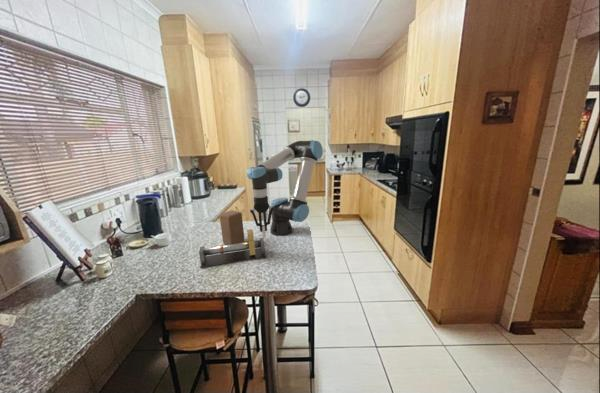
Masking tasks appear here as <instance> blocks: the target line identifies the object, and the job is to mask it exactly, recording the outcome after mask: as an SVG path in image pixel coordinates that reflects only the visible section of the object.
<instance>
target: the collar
mask: <svg viewBox="0 0 600 393" xmlns="http://www.w3.org/2000/svg"><path fill="white" fill-rule="evenodd" d="M246 234H247V240H248V241H247V242H249V249H248V250H249V253H250V255H255V249H256V248H255V245H254V241H255V238H254V230H253V228H251V229H247V230H246Z"/></svg>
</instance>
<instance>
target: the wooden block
mask: <svg viewBox="0 0 600 393" xmlns="http://www.w3.org/2000/svg"><path fill="white" fill-rule="evenodd" d="M219 221H220V222H219V224H220V229H221V230H220V231H221V238H222V243H223V244H224V245H230V244H237V243H244V242H245V232H244V224H243V223H244V222H243V215H242V212H241V211H237V210H231V209H230V210H228V211H226V212H222V213H220V214H219ZM223 244H222V245H223Z"/></svg>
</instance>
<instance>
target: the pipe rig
mask: <svg viewBox="0 0 600 393" xmlns="http://www.w3.org/2000/svg"><path fill="white" fill-rule="evenodd" d="M264 239H265V238H263V237H260V238H259V240H254V245H255V255H250V253H249V242H248V241H246V242H245V241H244V242H243V243H237V244H230V245H225V244H224V245H223V244H222V245H221V244H220V245H217V246H211V247H210V246H209V247H205V246H200V247H199V251H198V253H199V260H200V269H205V268H212V267H218V266H223V265H224V266H225V265H230V264H236V262H237V263H243V262H247V261H248V262H249V261H253V260H261V259H266V258H267V254H266V244H265V240H264Z"/></svg>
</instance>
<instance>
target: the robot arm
mask: <svg viewBox="0 0 600 393" xmlns="http://www.w3.org/2000/svg"><path fill="white" fill-rule="evenodd" d="M323 153H324V150H323V146H322V144H321V142H320V141H319V140H315V139H314V140H313V139H312V140H298V141H295V142H292V143H289V145H287V146H285V147H284V148H283V150H282V151H280V152H277V154H275V155H273V156H272V157H269V158H268V159H267V160H265V161H263V162H261V163H260V164H258V165H257V166H251V167H249V168H248V169H247V170H246V177H247V178H248V179H249V180H251V183H252V192H253V193H252V194H253V207H252V208H250V209H249V211H250V213H251V215H252V217H253V220H254V222H255V225H256V227H259V231H260V233H262V234H261V236H262V238H263V239H265V238H266V237H267V236H266V232H267V231H268V227H267V226H268V225H270V230H269V231H270V234H271V235H273V236H287V235H290V234H291V233H292V232H293V226H292V223H291V221H293V222H298V223H302V222H304V221H305V220H306V219H307V218H308V216H309V214H310V209H309V208H310V206H309V205H308V201H307V196H308V191H309V187H310V182H311V179H312V174H313V171H314V166H315V164H317V163H318V160H319V159H321V158H322V157H323ZM294 159H299V160H300V166H299V169H298V173H297V177H296V182H295V186H294V190H293V194H292V196H291V197H290V198H289V199H288V198H287V197H282V198H281V197H280V198H276V199H273V200H272V201H271V203H270V204H269V197H268V184H270V183H276V182H278V181H281V180H282V179H283V170H282V169H281V168H279V167H281V166H283V165H284V164H286V163H287V162H289V161H293V160H294ZM255 211H256V212H257V213H258V219H257V216H256V214H255ZM267 211H268V216H267ZM262 215H263V217H262ZM262 218H263V221H262Z"/></svg>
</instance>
